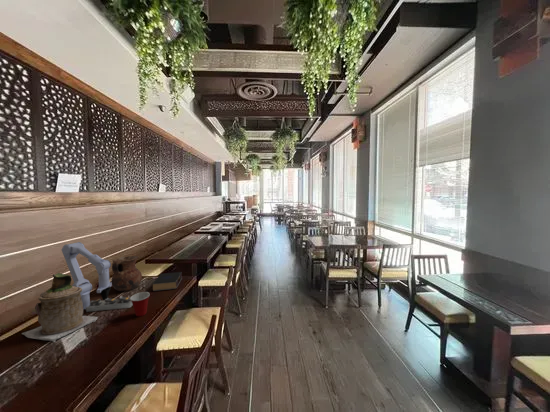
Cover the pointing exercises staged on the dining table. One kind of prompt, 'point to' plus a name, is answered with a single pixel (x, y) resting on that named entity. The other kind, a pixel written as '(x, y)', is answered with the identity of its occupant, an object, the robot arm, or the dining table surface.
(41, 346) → the dining table surface
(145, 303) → the plastic cup
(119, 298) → the rocker
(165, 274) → the book
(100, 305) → the power strip
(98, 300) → the rocker
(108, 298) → the rocker
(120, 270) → the jug
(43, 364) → the dining table surface
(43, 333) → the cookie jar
